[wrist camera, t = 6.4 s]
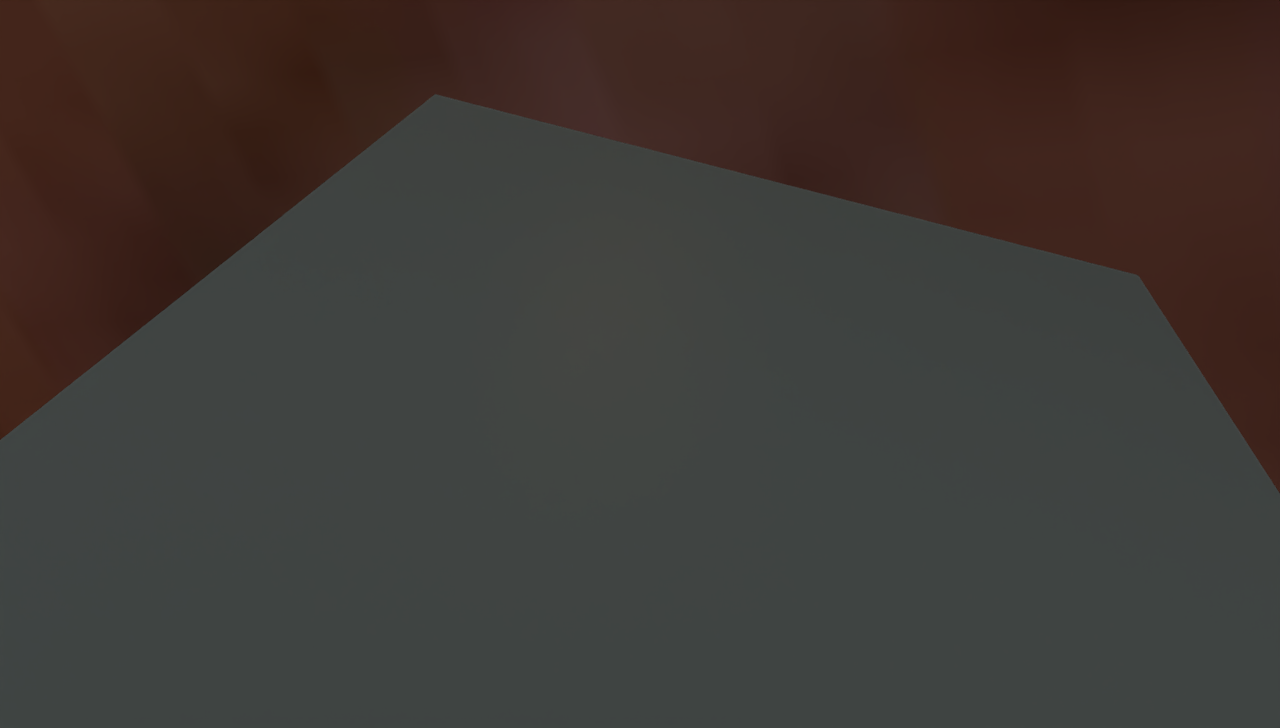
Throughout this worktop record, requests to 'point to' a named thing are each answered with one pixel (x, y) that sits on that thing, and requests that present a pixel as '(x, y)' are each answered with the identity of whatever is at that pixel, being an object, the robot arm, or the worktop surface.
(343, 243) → the pale grey cube
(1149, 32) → the worktop surface
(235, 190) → the worktop surface
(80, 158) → the worktop surface
